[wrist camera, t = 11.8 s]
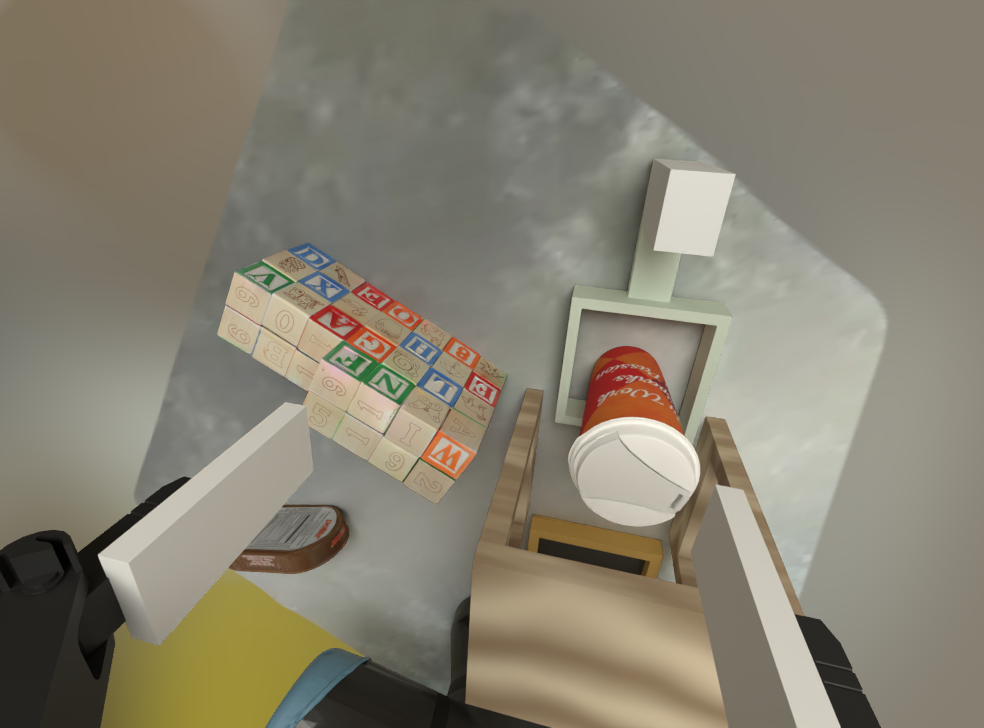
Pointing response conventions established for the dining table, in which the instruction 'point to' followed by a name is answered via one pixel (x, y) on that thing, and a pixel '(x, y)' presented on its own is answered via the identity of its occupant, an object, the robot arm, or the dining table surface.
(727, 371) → the dining table surface
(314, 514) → the tin
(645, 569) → the pit trap
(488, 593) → the oak tunnel
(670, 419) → the paper cup
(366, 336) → the stack of blocks
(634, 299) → the collar
